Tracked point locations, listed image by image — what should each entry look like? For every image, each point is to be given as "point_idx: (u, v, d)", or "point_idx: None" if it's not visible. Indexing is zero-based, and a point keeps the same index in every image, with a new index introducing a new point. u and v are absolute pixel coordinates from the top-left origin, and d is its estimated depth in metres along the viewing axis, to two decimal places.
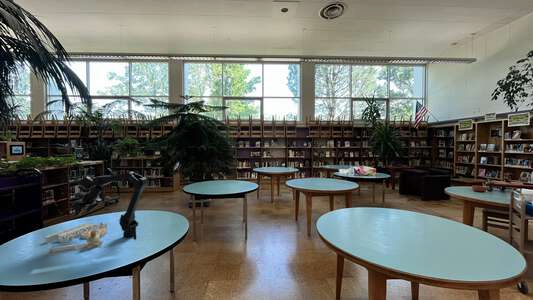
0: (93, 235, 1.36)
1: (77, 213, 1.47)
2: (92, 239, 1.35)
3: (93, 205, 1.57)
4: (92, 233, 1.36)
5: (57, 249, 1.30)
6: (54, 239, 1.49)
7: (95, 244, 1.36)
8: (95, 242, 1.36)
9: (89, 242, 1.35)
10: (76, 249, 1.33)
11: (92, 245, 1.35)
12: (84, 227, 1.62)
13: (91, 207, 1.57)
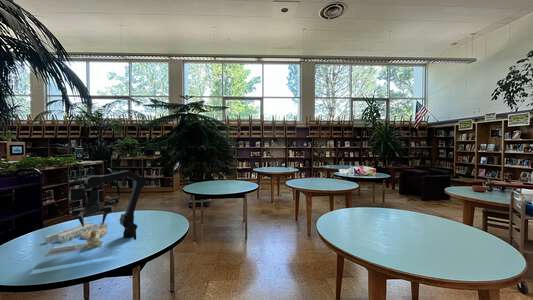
0: (93, 235, 1.36)
1: None
2: (92, 239, 1.35)
3: (82, 215, 1.37)
4: (92, 233, 1.36)
5: (57, 249, 1.30)
6: (54, 239, 1.49)
7: (95, 244, 1.36)
8: (95, 242, 1.36)
9: (89, 242, 1.35)
10: (76, 249, 1.33)
11: (92, 245, 1.35)
12: (84, 227, 1.62)
13: (83, 218, 1.36)
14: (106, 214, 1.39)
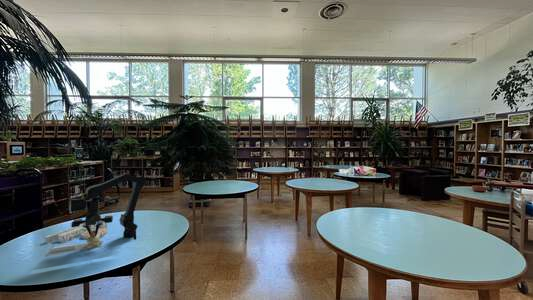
0: (93, 235, 1.36)
1: (98, 229, 1.40)
2: (92, 239, 1.35)
3: (90, 225, 1.38)
4: (92, 233, 1.36)
5: (57, 249, 1.30)
6: (54, 239, 1.49)
7: (95, 244, 1.36)
8: (95, 242, 1.36)
9: (89, 242, 1.35)
10: (76, 249, 1.33)
11: (92, 245, 1.35)
12: (84, 227, 1.62)
13: (90, 228, 1.38)
14: (99, 225, 1.37)
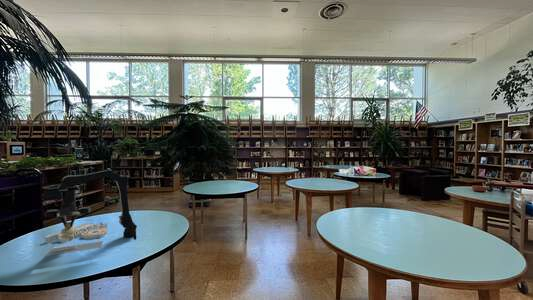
0: (68, 227, 1.31)
1: (74, 220, 1.34)
2: (67, 231, 1.30)
3: (65, 216, 1.33)
4: (67, 224, 1.31)
5: (57, 249, 1.30)
6: (54, 239, 1.49)
7: (70, 236, 1.31)
8: (70, 234, 1.31)
9: (63, 233, 1.29)
10: (76, 249, 1.33)
11: (67, 237, 1.30)
12: (84, 227, 1.62)
13: (65, 219, 1.33)
14: (75, 216, 1.32)
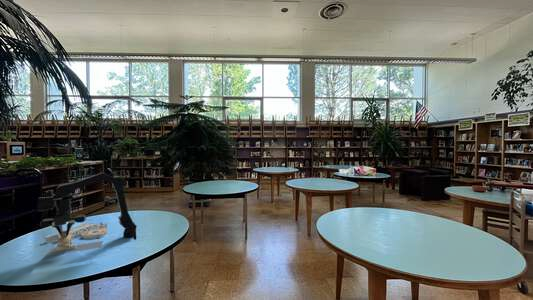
0: (64, 236, 1.30)
1: None
2: (62, 240, 1.29)
3: (61, 225, 1.32)
4: (63, 234, 1.30)
5: (57, 249, 1.30)
6: (54, 239, 1.49)
7: (66, 245, 1.30)
8: (66, 243, 1.30)
9: (59, 243, 1.29)
10: (76, 249, 1.33)
11: (62, 246, 1.29)
12: (84, 227, 1.62)
13: (61, 228, 1.32)
14: (70, 225, 1.31)
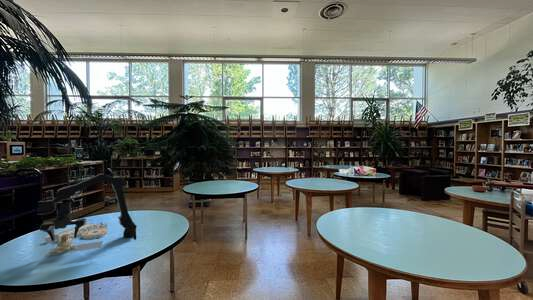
0: (64, 239, 1.30)
1: (77, 231, 1.35)
2: (63, 243, 1.29)
3: (53, 229, 1.31)
4: (63, 237, 1.30)
5: None
6: (54, 239, 1.49)
7: (66, 249, 1.30)
8: (66, 247, 1.30)
9: (59, 246, 1.29)
10: (76, 249, 1.33)
11: (63, 250, 1.29)
12: (84, 227, 1.62)
13: (53, 232, 1.31)
14: (78, 228, 1.33)
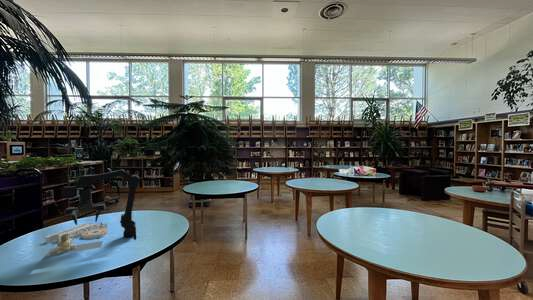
0: (64, 239, 1.30)
1: None
2: (63, 243, 1.29)
3: (75, 214, 1.40)
4: (63, 237, 1.30)
5: None
6: (54, 239, 1.49)
7: (66, 249, 1.30)
8: (66, 247, 1.30)
9: (59, 246, 1.29)
10: (76, 249, 1.33)
11: (63, 250, 1.29)
12: (84, 227, 1.62)
13: (76, 217, 1.40)
14: (99, 212, 1.42)
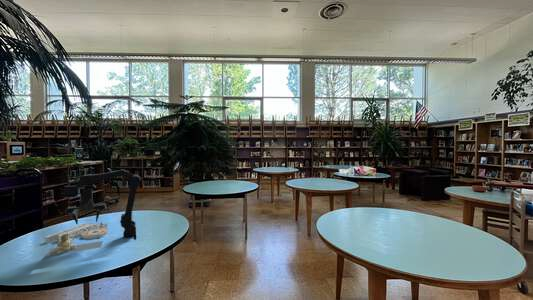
0: (64, 239, 1.30)
1: (98, 215, 1.45)
2: (63, 243, 1.29)
3: (76, 213, 1.40)
4: (63, 237, 1.30)
5: None
6: (54, 239, 1.49)
7: (66, 249, 1.30)
8: (66, 247, 1.30)
9: (59, 246, 1.29)
10: (76, 249, 1.33)
11: (63, 250, 1.29)
12: (84, 227, 1.62)
13: (76, 216, 1.40)
14: (99, 212, 1.43)
